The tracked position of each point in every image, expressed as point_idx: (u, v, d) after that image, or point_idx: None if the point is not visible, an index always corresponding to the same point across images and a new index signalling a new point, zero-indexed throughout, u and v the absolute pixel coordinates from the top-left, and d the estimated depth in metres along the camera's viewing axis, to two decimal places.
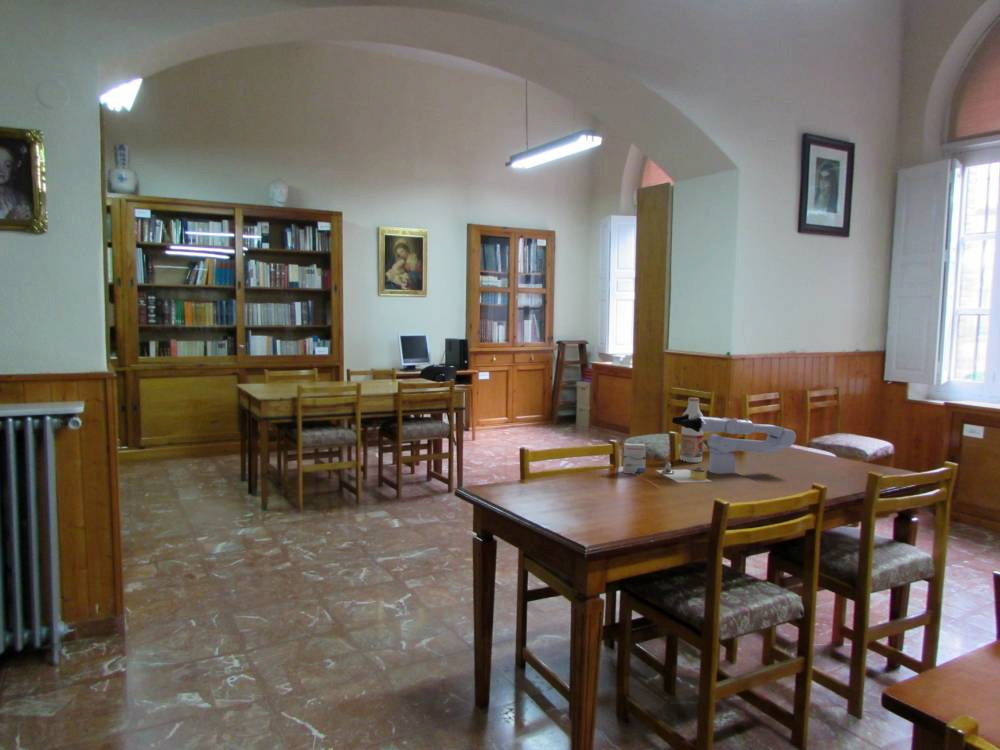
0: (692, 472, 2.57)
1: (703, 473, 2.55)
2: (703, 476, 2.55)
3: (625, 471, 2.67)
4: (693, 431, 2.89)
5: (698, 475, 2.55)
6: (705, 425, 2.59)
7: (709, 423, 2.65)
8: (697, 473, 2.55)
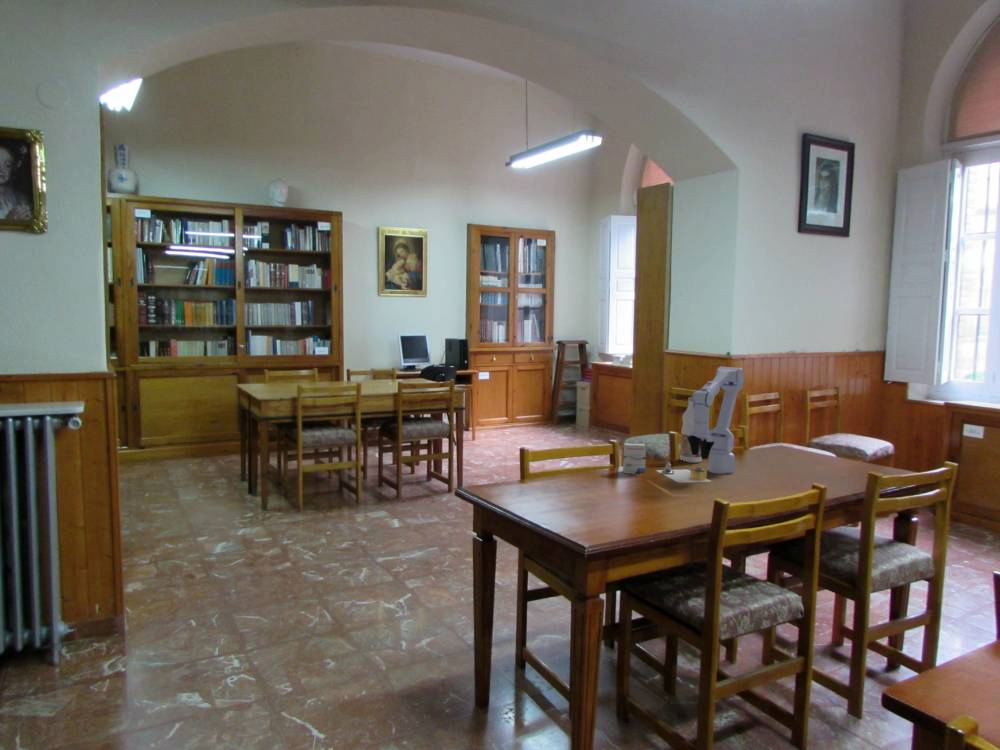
0: (692, 472, 2.57)
1: (703, 473, 2.55)
2: (703, 476, 2.55)
3: (625, 471, 2.67)
4: None
5: (698, 475, 2.55)
6: (709, 438, 2.49)
7: (703, 425, 2.53)
8: (697, 473, 2.55)
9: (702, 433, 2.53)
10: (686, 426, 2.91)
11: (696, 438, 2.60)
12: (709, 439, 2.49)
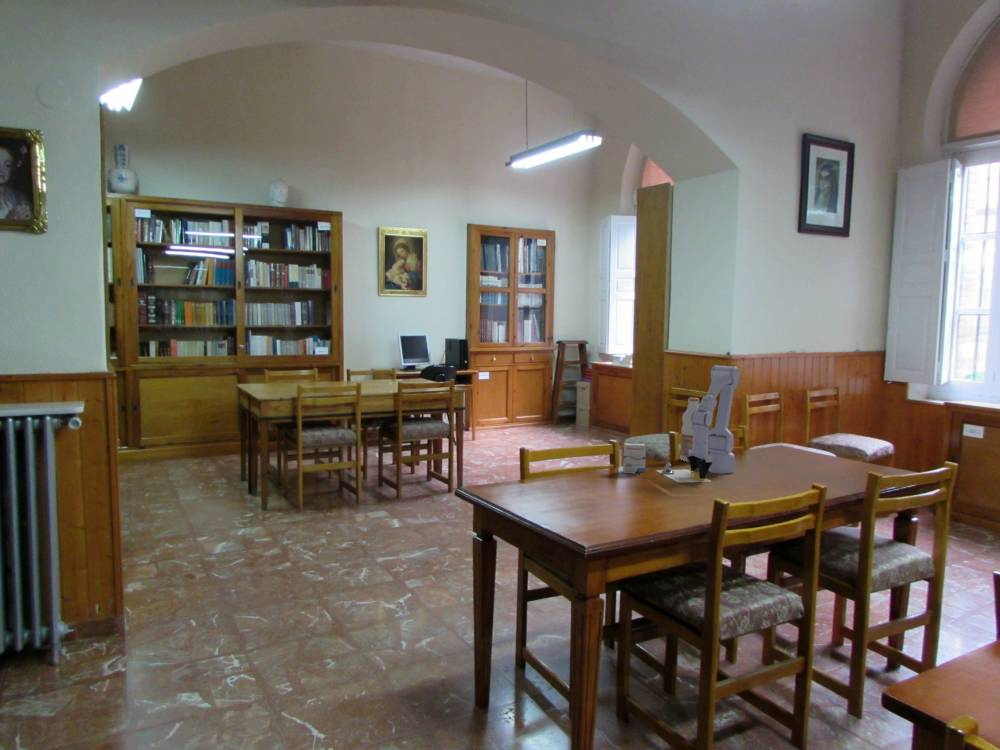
0: (692, 472, 2.57)
1: None
2: None
3: (625, 471, 2.67)
4: None
5: (698, 475, 2.55)
6: (708, 459, 2.50)
7: (702, 445, 2.54)
8: (697, 473, 2.55)
9: (701, 453, 2.54)
10: (686, 426, 2.91)
11: (696, 458, 2.60)
12: (708, 460, 2.50)
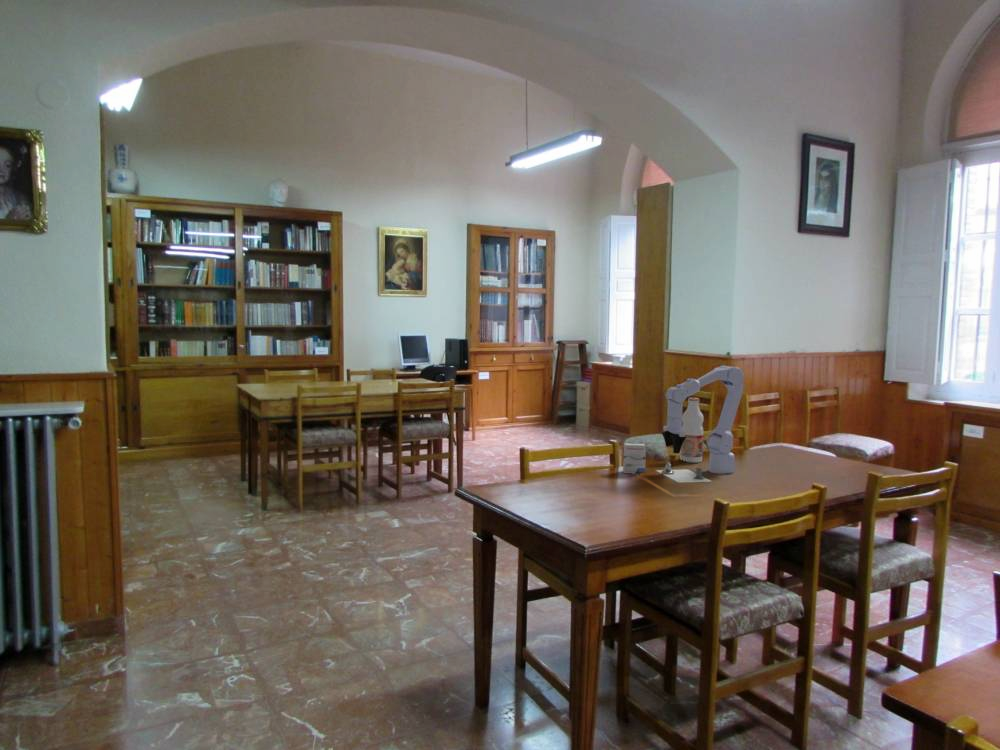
0: (666, 448, 2.63)
1: None
2: None
3: (625, 471, 2.67)
4: (693, 431, 2.89)
5: (672, 450, 2.61)
6: (681, 433, 2.56)
7: (676, 421, 2.60)
8: (671, 448, 2.61)
9: (675, 428, 2.60)
10: (686, 426, 2.91)
11: (670, 434, 2.66)
12: (681, 434, 2.56)
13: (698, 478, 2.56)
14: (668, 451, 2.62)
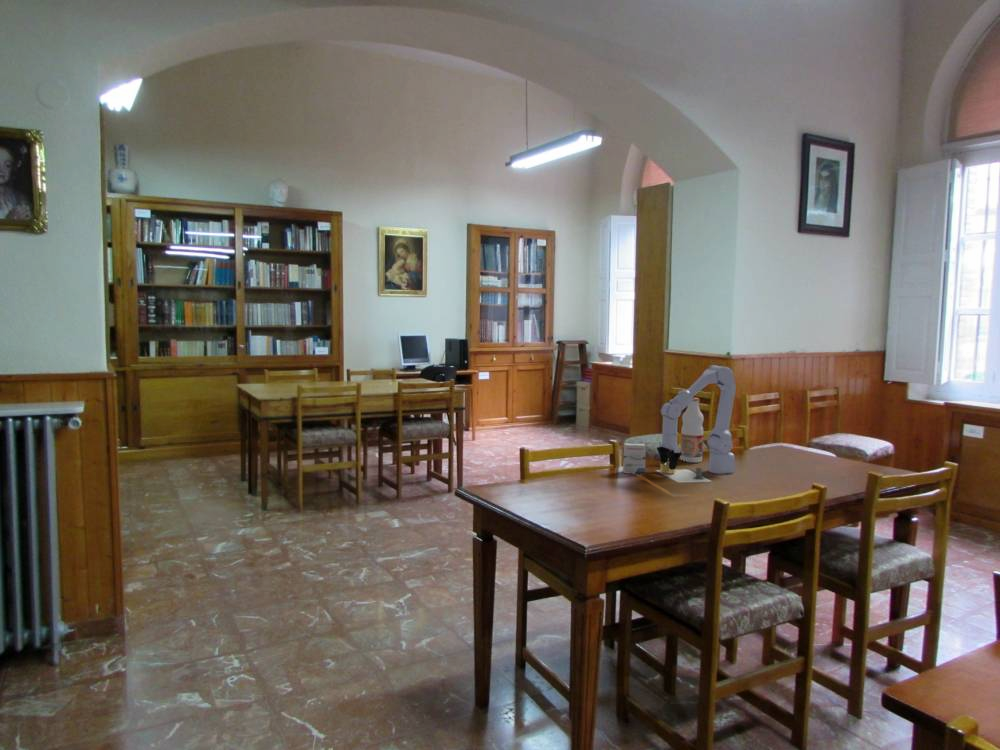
0: (661, 465, 2.65)
1: None
2: (672, 469, 2.63)
3: (625, 471, 2.67)
4: (693, 431, 2.89)
5: (667, 468, 2.63)
6: (676, 449, 2.58)
7: (671, 437, 2.62)
8: (666, 466, 2.63)
9: (670, 444, 2.62)
10: (686, 426, 2.91)
11: (665, 449, 2.69)
12: (676, 450, 2.58)
13: (698, 478, 2.56)
14: (663, 469, 2.64)
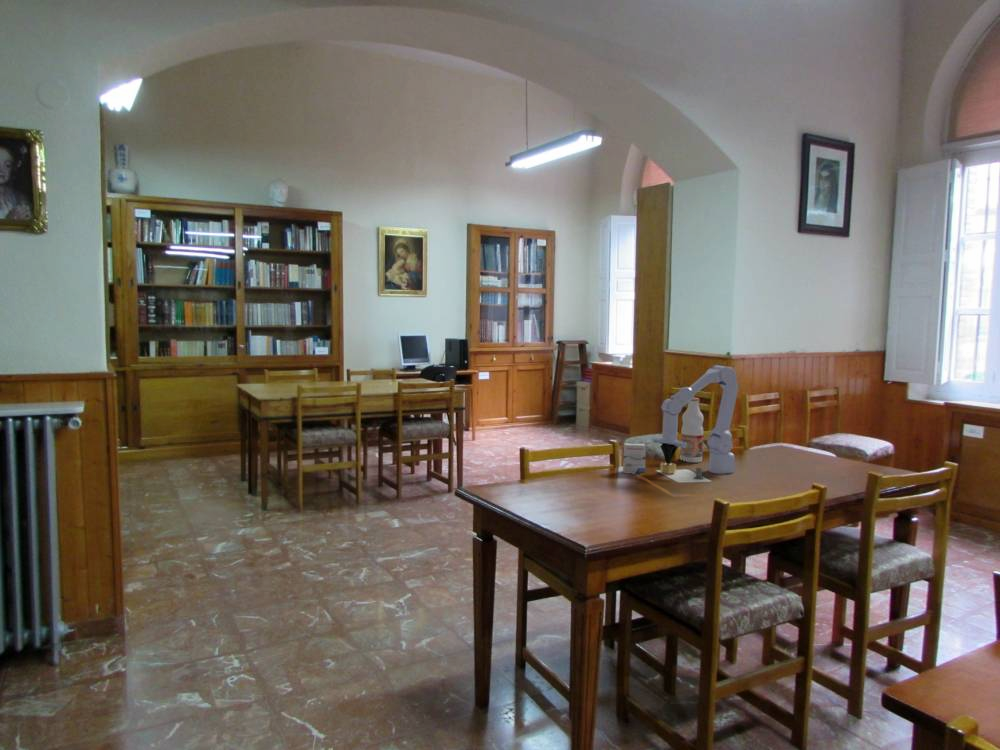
0: (661, 465, 2.65)
1: (672, 466, 2.63)
2: (672, 469, 2.63)
3: (625, 471, 2.67)
4: (693, 431, 2.89)
5: (667, 468, 2.63)
6: (685, 445, 2.60)
7: (675, 432, 2.62)
8: (666, 466, 2.63)
9: (674, 440, 2.62)
10: (686, 426, 2.91)
11: None
12: (685, 445, 2.60)
13: (698, 478, 2.56)
14: (663, 469, 2.64)
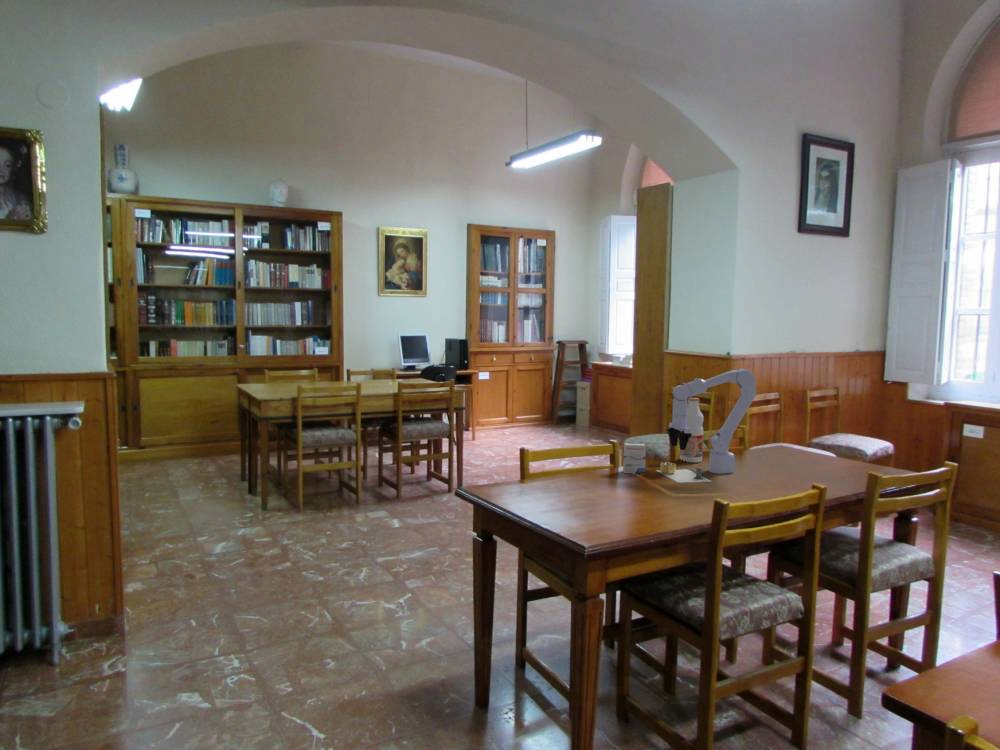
0: (661, 465, 2.65)
1: (672, 466, 2.63)
2: (672, 469, 2.63)
3: (625, 471, 2.67)
4: (693, 431, 2.89)
5: (667, 468, 2.63)
6: (686, 430, 2.65)
7: (681, 418, 2.69)
8: (666, 466, 2.63)
9: (680, 425, 2.69)
10: None
11: (675, 430, 2.76)
12: (686, 431, 2.65)
13: (698, 478, 2.56)
14: (663, 469, 2.64)
